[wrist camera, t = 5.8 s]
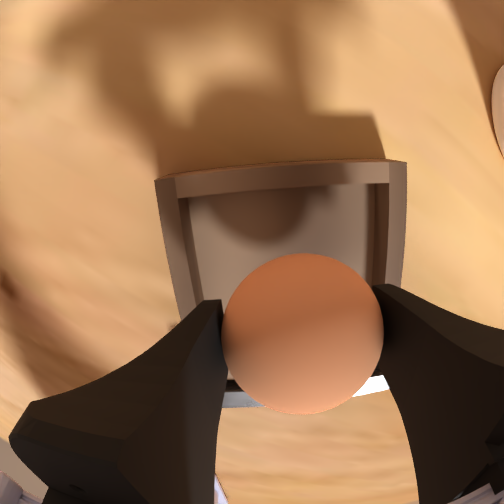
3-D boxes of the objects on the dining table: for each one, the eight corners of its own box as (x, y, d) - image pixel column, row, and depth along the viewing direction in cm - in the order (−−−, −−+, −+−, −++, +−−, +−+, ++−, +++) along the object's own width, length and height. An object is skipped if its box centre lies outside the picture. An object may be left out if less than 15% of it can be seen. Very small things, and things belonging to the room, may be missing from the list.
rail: (196, 376, 16) (188, 407, 14) (191, 361, 16) (183, 392, 14) (398, 356, 16) (413, 383, 13) (401, 340, 15) (418, 367, 13)
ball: (237, 351, 12) (227, 449, 8) (220, 239, 11) (190, 314, 6) (354, 340, 12) (389, 431, 7) (360, 227, 10) (426, 291, 6)
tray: (202, 355, 16) (196, 380, 14) (168, 174, 13) (154, 180, 11) (376, 339, 15) (387, 362, 13) (386, 158, 12) (406, 162, 10)
